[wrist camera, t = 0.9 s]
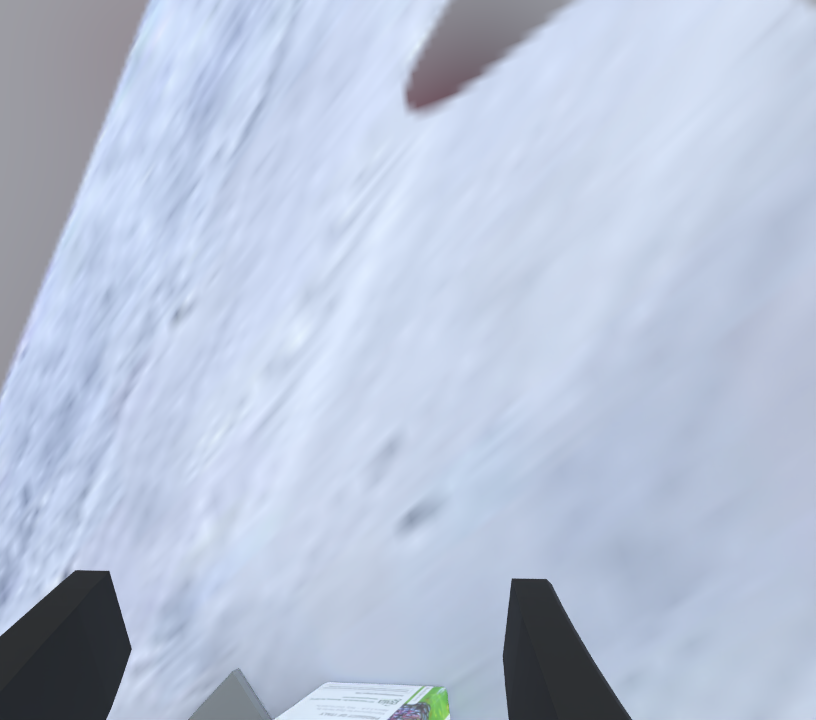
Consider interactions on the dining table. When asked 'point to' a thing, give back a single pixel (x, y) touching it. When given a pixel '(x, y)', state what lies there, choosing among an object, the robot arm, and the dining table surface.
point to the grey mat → (232, 702)
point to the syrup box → (371, 703)
